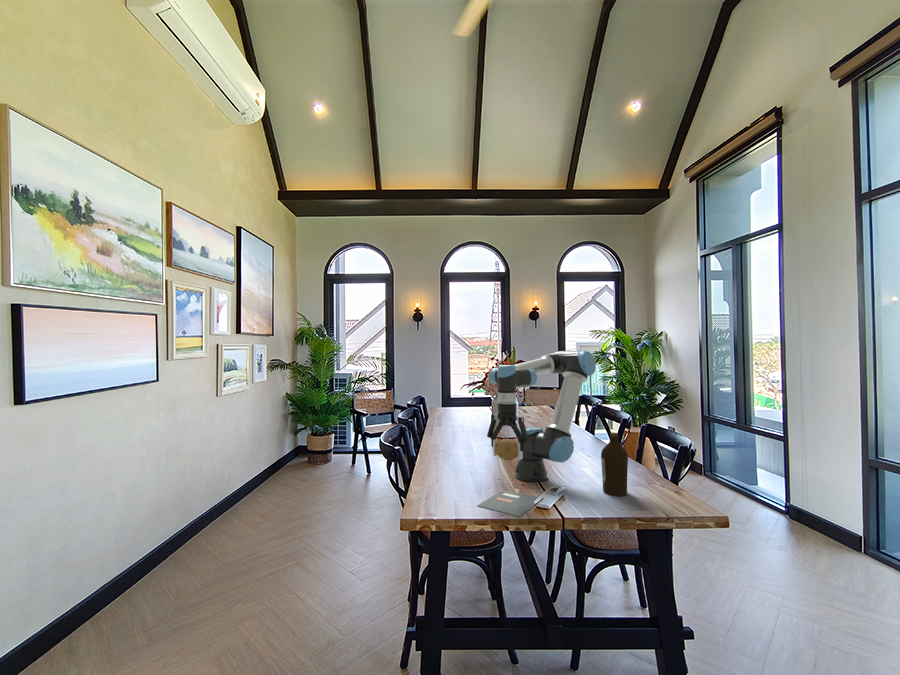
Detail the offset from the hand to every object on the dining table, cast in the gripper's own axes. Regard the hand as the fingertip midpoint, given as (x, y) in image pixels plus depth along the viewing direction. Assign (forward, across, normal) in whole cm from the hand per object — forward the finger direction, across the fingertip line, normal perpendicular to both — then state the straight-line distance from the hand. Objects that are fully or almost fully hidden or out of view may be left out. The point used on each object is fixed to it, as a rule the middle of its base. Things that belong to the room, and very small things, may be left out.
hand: (507, 457), depth 166 cm
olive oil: (+17, +34, +32) cm, 50 cm away
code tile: (+17, +3, -3) cm, 17 cm away
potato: (+1, 0, 0) cm, 1 cm away
